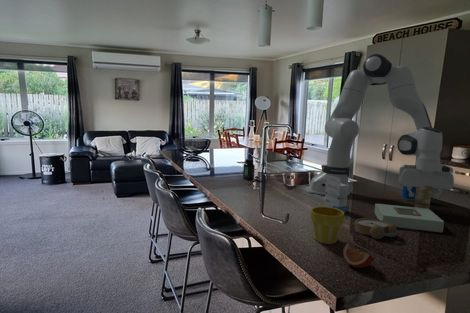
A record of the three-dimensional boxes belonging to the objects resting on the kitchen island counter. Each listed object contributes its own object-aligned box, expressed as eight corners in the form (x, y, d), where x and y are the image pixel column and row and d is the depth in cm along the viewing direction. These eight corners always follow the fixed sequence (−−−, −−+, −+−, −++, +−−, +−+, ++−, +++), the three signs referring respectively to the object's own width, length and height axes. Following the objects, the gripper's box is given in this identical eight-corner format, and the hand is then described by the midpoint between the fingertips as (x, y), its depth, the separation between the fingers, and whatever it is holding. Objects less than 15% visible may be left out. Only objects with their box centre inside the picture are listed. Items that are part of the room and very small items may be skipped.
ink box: (346, 212, 130) (349, 178, 128) (338, 213, 128) (340, 178, 126) (332, 206, 138) (335, 174, 136) (323, 207, 136) (326, 174, 134)
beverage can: (418, 201, 151) (421, 177, 149) (403, 200, 152) (406, 176, 150) (413, 198, 157) (416, 174, 155) (399, 197, 158) (402, 174, 157)
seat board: (382, 225, 116) (383, 214, 115) (374, 212, 131) (375, 202, 130) (442, 232, 111) (444, 220, 110) (427, 218, 126) (428, 208, 125)
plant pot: (304, 233, 105) (306, 205, 104) (334, 233, 106) (336, 206, 105) (315, 246, 95) (317, 216, 94) (347, 246, 96) (350, 216, 94)
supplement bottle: (246, 180, 185) (247, 160, 183) (241, 178, 191) (241, 158, 189) (256, 179, 188) (257, 160, 187) (250, 177, 194) (251, 158, 193)
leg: (416, 213, 132) (419, 185, 130) (413, 210, 136) (416, 183, 135) (428, 214, 131) (432, 186, 129) (425, 211, 135) (428, 184, 134)
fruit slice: (337, 260, 87) (338, 243, 86) (355, 256, 89) (357, 240, 89) (358, 275, 79) (360, 256, 78) (378, 270, 82) (380, 253, 81)
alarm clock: (371, 217, 116) (406, 223, 102) (372, 230, 116) (406, 238, 102) (347, 219, 113) (380, 227, 99) (348, 233, 112) (380, 242, 98)
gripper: (402, 165, 130) (398, 197, 132) (457, 168, 126) (453, 201, 128) (398, 163, 137) (395, 193, 138) (450, 166, 132) (446, 197, 134)
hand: (423, 197), depth 133 cm, fingers open, 8 cm apart
